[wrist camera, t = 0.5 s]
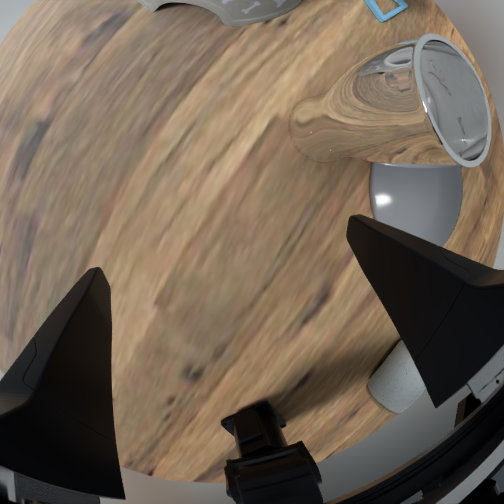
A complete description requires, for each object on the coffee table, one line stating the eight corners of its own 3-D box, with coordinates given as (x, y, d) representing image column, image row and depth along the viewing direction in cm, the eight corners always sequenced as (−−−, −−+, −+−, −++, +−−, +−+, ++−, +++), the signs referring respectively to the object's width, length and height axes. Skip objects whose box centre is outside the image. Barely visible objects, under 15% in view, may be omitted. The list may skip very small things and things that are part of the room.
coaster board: (464, 220, 29) (469, 222, 28) (390, 281, 28) (395, 284, 27) (437, 106, 24) (442, 106, 23) (346, 142, 23) (352, 141, 22)
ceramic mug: (353, 382, 31) (383, 419, 24) (391, 333, 30) (429, 365, 23) (390, 392, 35) (417, 421, 28) (422, 351, 34) (453, 377, 27)
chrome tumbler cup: (299, 80, 20) (418, 4, 6) (361, 117, 22) (495, 93, 8) (271, 146, 21) (397, 110, 7) (339, 180, 23) (483, 198, 9)
